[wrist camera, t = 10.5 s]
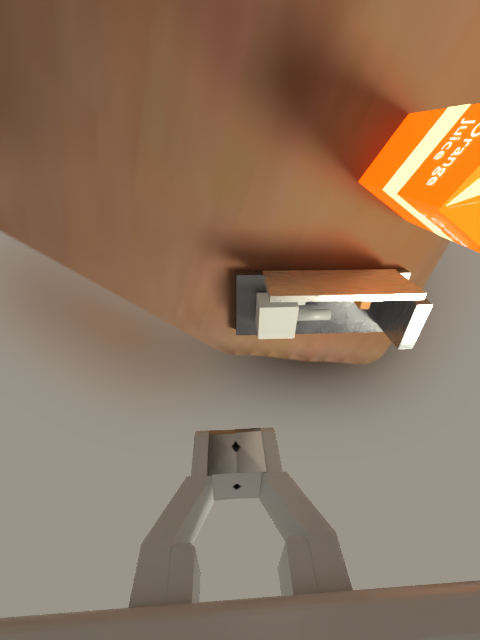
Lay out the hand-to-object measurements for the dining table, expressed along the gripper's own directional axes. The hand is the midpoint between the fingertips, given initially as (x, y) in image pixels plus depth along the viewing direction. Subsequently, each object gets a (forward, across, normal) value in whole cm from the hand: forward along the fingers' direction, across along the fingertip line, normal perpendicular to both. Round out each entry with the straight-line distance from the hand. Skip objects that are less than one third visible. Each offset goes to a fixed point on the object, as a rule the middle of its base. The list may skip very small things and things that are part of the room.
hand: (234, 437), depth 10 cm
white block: (+27, -9, +10) cm, 30 cm away
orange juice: (+28, -21, -7) cm, 36 cm away
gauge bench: (+28, -13, +10) cm, 33 cm away
